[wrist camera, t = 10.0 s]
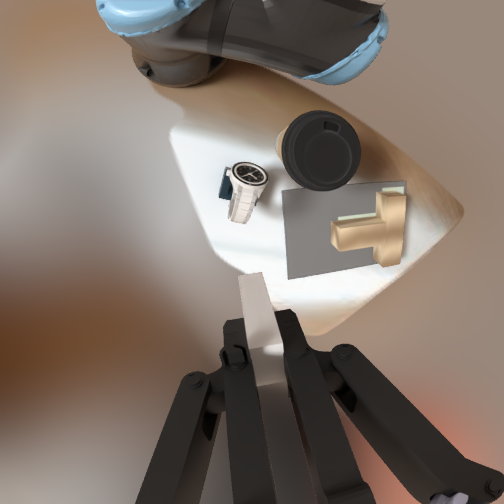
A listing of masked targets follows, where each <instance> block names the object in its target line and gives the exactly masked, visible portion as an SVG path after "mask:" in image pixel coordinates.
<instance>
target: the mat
mask: <svg viewBox="0 0 504 504" xmlns="http://www.w3.org/2000/svg"><path fill="white" fill-rule="evenodd" d="M381 191H396V192H399V193H401V194H403V195H405V193H406V181H393V182H376V183H361V184H347V185H343V186H342V187H340V188H338V189H335V190H332V191H326V192H319V191H312V190H309V189H306V188H303V189H294V190H285V191H282V202H283V214H284V227H285V241H286V256H287V272H288V280H289V279H295V278H301V277H307V276H313V275H319V274H324V273H330V272H336V271H341V270H347V269H352V268H357V267H363V266H368V265H373V264H378V263H377V262H376V261H375V260H374V259H373V250H374V246H373V247H367V248H360V249H354V250H348V251H341V252H339V251H338V250H337V249H336V248H335V247H334V245H333V244H332V243H331V221H336V220H345V219H353V218H362V217H371V216H376V192H381Z"/></svg>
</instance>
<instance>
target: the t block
mask: <svg viewBox="0 0 504 504" xmlns="http://www.w3.org/2000/svg"><path fill="white" fill-rule="evenodd" d="M405 210H406V195H403V194H401V193H399V192H396V191H381V192H376V216H371V217H362V218H353V219H345V220H336V221H331V243H332V244H333V245H334V247H335V248H336V249H337V250H338V251H339V252H341V251H348V250H354V249H360V248H367V247H373V246H374V250H373V259H374V260H375V261H376V262H377V263H379V264H380V265H381V266H382V267H388V266H393V265H397V264H400V261H401V253H402V245H403V235H404V224H405Z"/></svg>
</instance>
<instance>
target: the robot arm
mask: <svg viewBox="0 0 504 504" xmlns="http://www.w3.org/2000/svg"><path fill="white" fill-rule="evenodd" d="M385 2H386V0H96V5H97V9H98V12H99V14H100V16H101V17H102V18H103V20H104V21H105V23H106V24H107V27H108V28H109V29H110V30H111V31H112V32H114V33H115V34H118V35H119V36H120V37H121V38H122V39H123V40H124V41H126V42H127V43H128V44H129V45H130V46H131V47H132V57H133V61H134V63H135V65H136V67H137V68H138V70H139V71H140V72H141V73H142V74H143V75H144V76H145V77H146V78H148V79H149V80H151V81H152V82H154V83H156V84H159V85H162V86H166V87H175V88H178V87H187V86H192V85H195V84H198V83H200V82H203V81H205V80H207V79H208V78H210V77H211V76H213V75H214V74H215V73H216V72H218V71H219V70H220V69H221V67H222V66H223V65H224V64H225V62H226V61H227V59H228V58H229V59H234V60H239V61H243V62H248V63H252V64H256V65H260V66H264V67H268V68H271V69H275V70H279V71H282V72H286V73H289V74H291V75H292V76H294V77H296V78H299V79H304V80H305V79H309V80H313V81H316V82H319V83H322V84H325V85H339V84H343V83H346V82H348V81H350V80H352V79H354V78H355V77H357V76H358V75H359V74H361V73H362V72H363V71H364V70H365V69H366V68H367V67H368V66H369V65H370V64H371V63H372V62H373V60H374V59H375V58H376V56H377V55H378V53H379V52H380V50H381V48H382V47H381V45H380V43H381V42H382V41H384V40H385V39H386V37H387V33H388V27H389V22H388V17H387V15H386V13H385V11H384V10H383V9H382V6H383V5H384V4H385ZM238 278H239V285H240V293H241V300H242V307H243V314H244V318H240V319H234V320H227V321H226V323H225V325H224V326H223V333H224V347H223V348H222V349H221V351H220V354H219V355H220V359H221V362H222V367H221V368H220V369H218V370H217V371H215V372H213V373H210V374H208V375H206V374H205V373H203V372H199V371H197V372H191V373H189V374H187V375H186V376H185V377H184V378H183V379H182V381H181V383H180V386H179V388H178V391H177V393H176V396H175V398H174V401H173V404H172V406H171V409H170V411H169V414H168V417H167V419H166V422H165V424H164V427H163V430H162V432H161V435H160V438H159V440H158V443H157V445H156V448H155V451H154V454H153V456H152V459H151V462H150V464H149V467H148V470H147V472H146V475H145V478H144V481H143V483H142V486H141V489H140V492H139V494H138V497H137V500H136V503H135V504H199V502H200V498H201V494H202V490H203V486H204V482H205V478H206V474H207V470H208V466H209V462H210V458H211V454H212V450H213V446H214V442H215V438H216V434H217V430H218V426H219V422H220V418H221V413H222V412H223V411H226V420H227V421H226V422H227V434H228V448H229V458H230V459H229V460H230V471H231V481H232V491H233V501H234V504H278V499H277V494H276V489H275V483H274V478H273V472H272V467H271V462H270V456H269V451H268V446H267V440H266V434H265V428H264V423H263V417H262V412H261V406H260V400H259V394H258V390H257V386H261V385H267V384H272V383H278V382H283V381H286V380H287V383H288V395H289V396H288V397H290V399H291V403H292V407H293V410H294V415H295V418H296V422H297V426H298V430H299V434H300V437H301V441H302V445H303V449H304V453H305V457H306V461H307V464H308V468H309V472H310V476H311V480H312V484H313V487H314V491H315V495H316V499H317V503H318V504H376V502H375V499H374V496H373V493H372V491H371V489H370V487H369V485H368V484H367V483H366V482H364V481H363V479H362V477H361V474H360V471H359V469H358V466H357V463H356V460H355V458H354V455H353V452H352V450H351V447H350V444H349V441H348V439H347V436H346V434H345V431H344V428H343V426H342V423H341V420H340V418H339V415H338V412H337V410H336V407H335V405H334V402H333V399H332V397H333V398H334V399H335V401H336V402H337V403H338V404H339V406H340V407H341V408H342V409H343V411H344V412H345V414H346V415H347V416H348V417H349V418H350V420H351V421H352V422H353V424H354V425H355V426H356V428H357V429H358V430H359V431H360V433H361V434H362V435H363V436H364V438H365V439H366V440H367V441H368V443H369V444H370V445H371V446H372V448H373V449H374V450H375V451H376V453H377V454H378V455H379V456H380V458H381V459H382V460H383V461H384V463H385V464H386V465H387V466H388V468H389V469H390V470H391V471H392V472H393V474H394V475H395V476H396V477H397V478H398V480H399V481H400V482H401V483H402V484H403V486H404V487H405V488H406V489H407V491H408V492H409V493H410V494H411V495H412V496H413V497H414V498H415V499H416V500H417V501H419V502H420V503H422V504H490V503H492V502H493V501H495V500H497V499H498V498H499V497H500V496H501V495H502V493H503V492H504V475H503V474H502V473H501V472H499V471H497V470H494V469H491V468H489V467H486V466H483V465H481V464H478V463H476V462H473V461H471V460H468V459H466V458H465V457H464V456H463V455H462V454H461V453H460V452H459V451H458V450H457V449H456V448H455V447H454V446H453V445H452V444H451V443H450V442H449V441H448V440H447V439H446V438H445V437H444V436H443V435H442V434H441V433H440V432H439V431H438V430H437V429H436V428H435V427H434V426H433V425H432V424H431V423H430V422H429V421H428V420H427V419H426V418H425V417H424V415H423V414H421V412H420V411H419V410H418V409H417V408H416V407H415V406H414V405H413V404H412V403H411V402H410V401H409V400H408V399H407V398H406V397H405V396H404V395H403V394H402V393H401V392H399V390H398V389H397V388H396V387H395V386H394V385H393V384H392V383H391V382H390V381H389V380H388V379H387V378H386V377H385V376H384V375H383V374H382V373H381V372H380V371H379V370H378V369H377V368H376V367H375V366H374V365H373V364H372V363H371V362H370V361H369V360H368V359H367V358H366V357H365V356H364V355H363V354H362V353H361V352H360V351H359V350H358V349H357V348H356V347H354V346H353V345H350V344H340V345H337V346H335V347H334V348H333V349H332V351H331V352H322V351H317V350H314V349H312V348H311V347H310V346H309V345H308V344H307V341H306V338H305V336H304V333H303V331H302V328H301V326H300V323H299V321H298V318H297V316H296V313H294V312H293V311H292V310H291V309H286V310H281V311H276V312H274V311H273V308H272V304H271V301H270V298H269V294H268V291H267V288H266V284H265V281H264V277H263V274H262V272H259V273H253V274H247V275H241V276H238ZM331 395H332V397H331Z"/></svg>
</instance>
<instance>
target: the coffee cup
mask: <svg viewBox="0 0 504 504" xmlns="http://www.w3.org/2000/svg"><path fill="white" fill-rule="evenodd" d="M275 148H276V152H277V155H278V156H279V158H280V159H281V161H282V162H283V164H284V166H285V169H286V170H287V172H288V174H289V175H290V176H291V178H292V179H293V180H294V181H295V182H296V183H298V184H299V185H301V186H302V187H304V188H306V189H309V190H312V191H319V192H326V191H332V190H335V189H338V188H340V187H342V186H343V185H345V184H346V183H347V182H348V181H349V180H350V179H351V178H352V177H353V176H354V174H355V172H356V170H357V168H358V166H359V162H360V156H361V148H360V142H359V139H358V136H357V134H356V132H355V130H354V129H353V127H352V126H351V125H350V124H349V123H348V122H347V121H346V120H345V119H344V118H342V117H341V116H339V115H337V114H334V113H331V112H328V111H321V110H317V111H310V112H307V113H304V114H302V115H300V116H299V117H297V118H296V119H295V120H294V121H293V122H292V123H291V124H290V125H289V126H287V127H286V128H285V129H284V130H282V131H281V132H280V133H279V135H278V136H277V139H276V143H275Z"/></svg>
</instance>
